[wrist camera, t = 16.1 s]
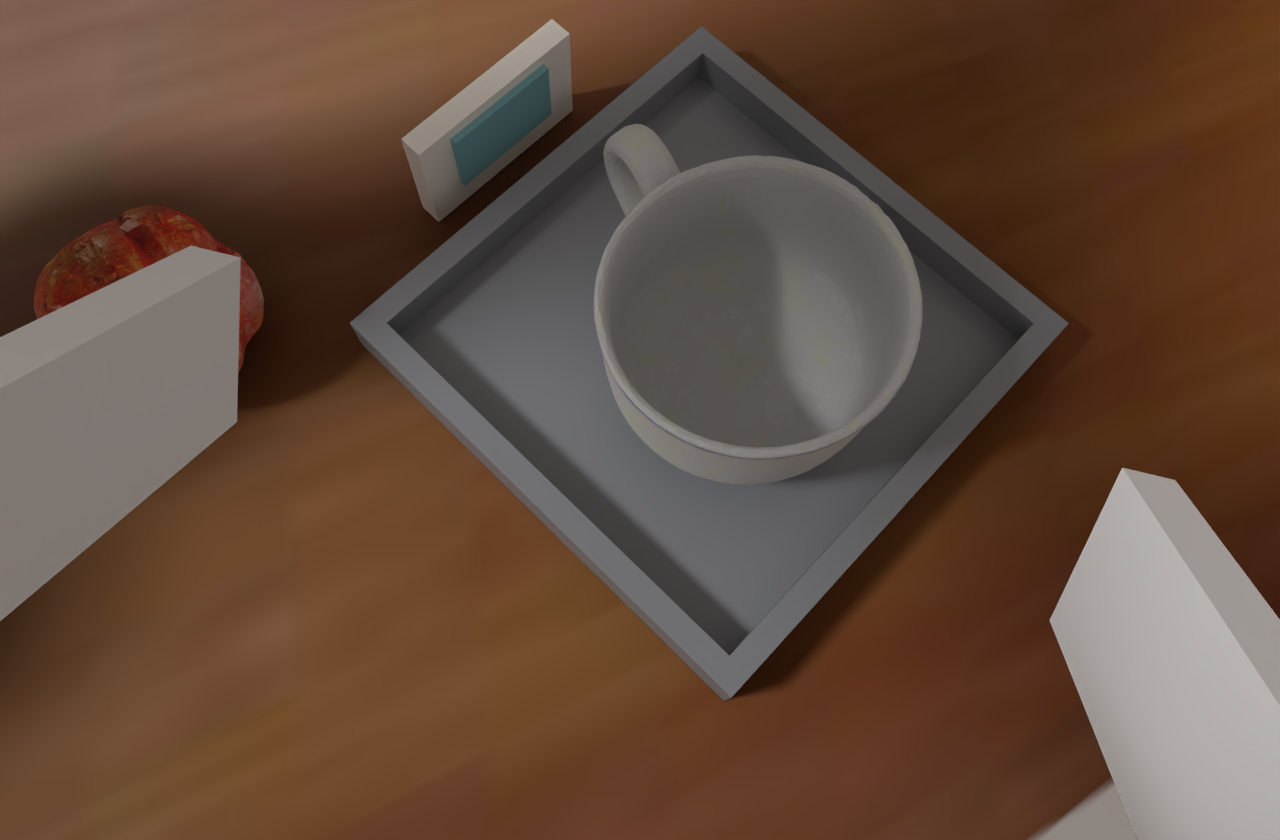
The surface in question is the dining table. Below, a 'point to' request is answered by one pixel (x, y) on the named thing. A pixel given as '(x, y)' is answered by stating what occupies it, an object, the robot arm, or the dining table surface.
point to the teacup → (749, 310)
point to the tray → (596, 428)
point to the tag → (491, 121)
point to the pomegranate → (137, 262)
